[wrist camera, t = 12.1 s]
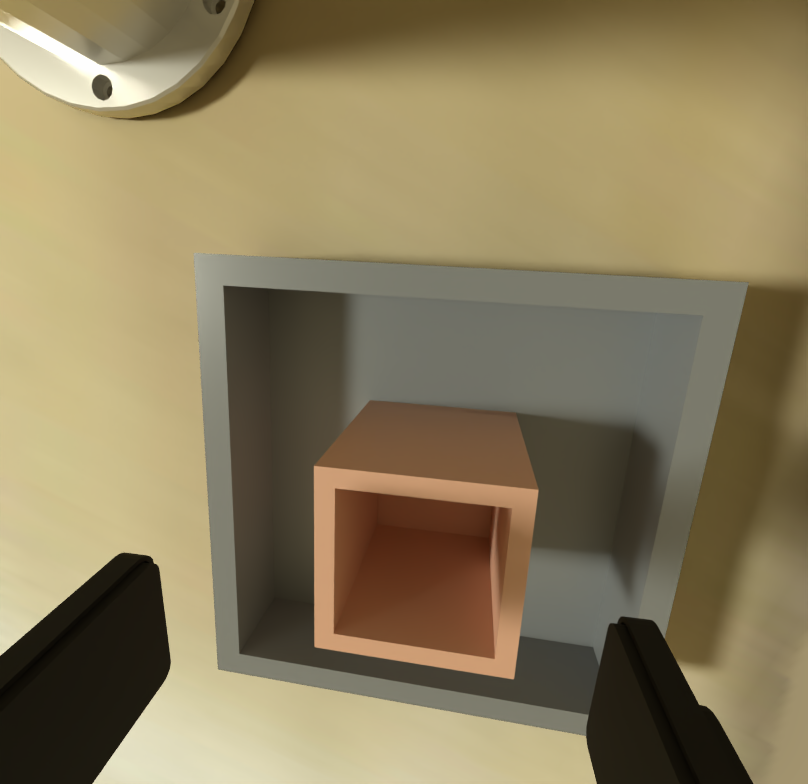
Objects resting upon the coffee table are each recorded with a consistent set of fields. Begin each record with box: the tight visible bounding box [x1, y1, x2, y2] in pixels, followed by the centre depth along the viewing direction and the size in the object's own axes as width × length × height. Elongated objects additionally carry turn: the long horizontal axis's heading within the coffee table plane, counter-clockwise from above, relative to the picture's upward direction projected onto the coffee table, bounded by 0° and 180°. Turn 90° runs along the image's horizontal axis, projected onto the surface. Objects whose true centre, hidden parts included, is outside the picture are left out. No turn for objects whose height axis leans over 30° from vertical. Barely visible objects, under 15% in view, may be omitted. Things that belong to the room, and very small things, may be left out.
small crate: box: [314, 400, 539, 679], centre depth 16 cm, size 6×6×7 cm
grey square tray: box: [194, 253, 749, 736], centre depth 18 cm, size 17×17×4 cm
